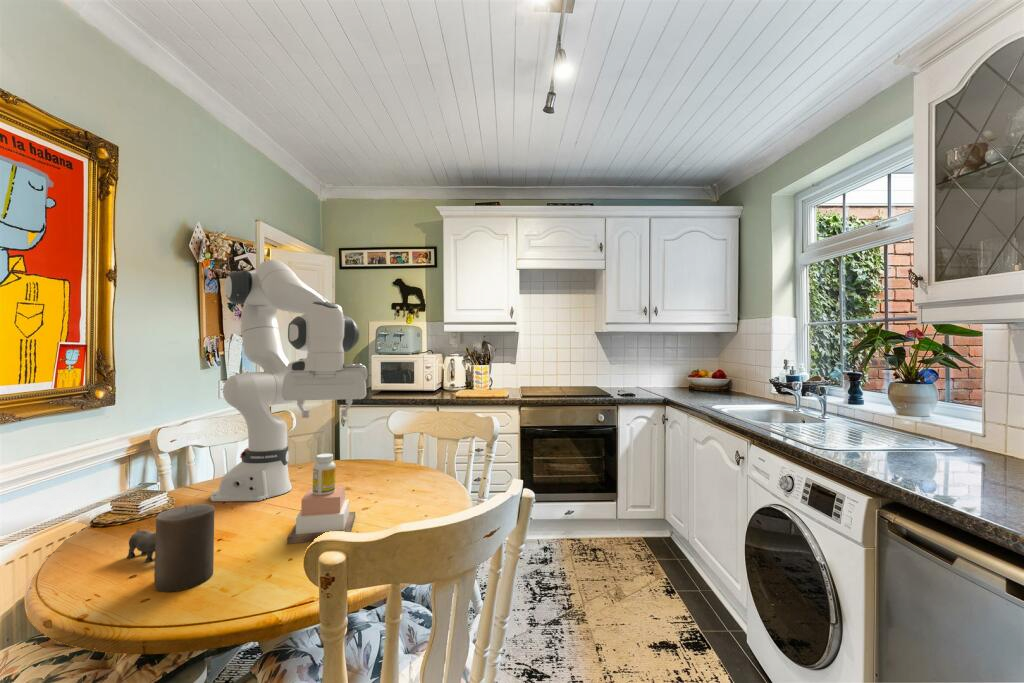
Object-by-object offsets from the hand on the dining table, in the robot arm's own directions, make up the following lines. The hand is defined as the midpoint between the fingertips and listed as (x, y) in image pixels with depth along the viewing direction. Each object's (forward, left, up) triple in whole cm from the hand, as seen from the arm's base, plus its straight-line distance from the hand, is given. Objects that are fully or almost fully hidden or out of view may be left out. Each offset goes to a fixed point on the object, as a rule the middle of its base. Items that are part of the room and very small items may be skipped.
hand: (325, 417), depth 115 cm
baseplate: (0, 0, -29) cm, 29 cm away
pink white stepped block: (0, 0, -28) cm, 28 cm away
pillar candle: (-23, -20, -29) cm, 42 cm away
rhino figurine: (-34, -9, -29) cm, 45 cm away
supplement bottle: (0, 0, -20) cm, 20 cm away
